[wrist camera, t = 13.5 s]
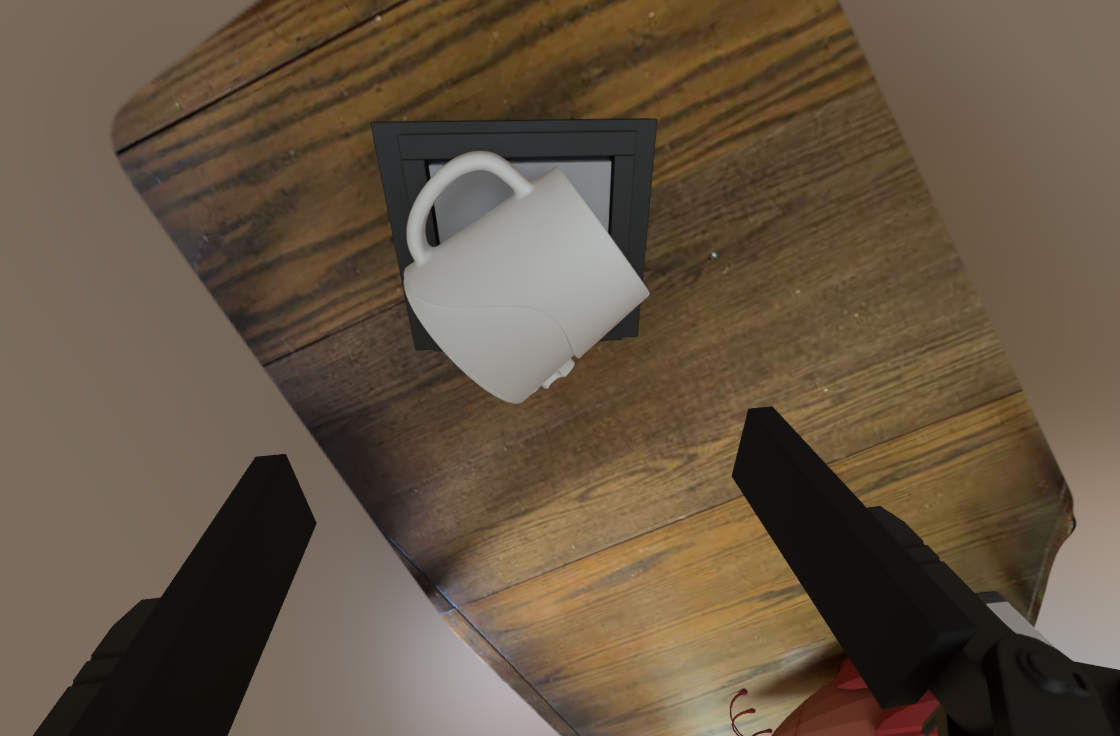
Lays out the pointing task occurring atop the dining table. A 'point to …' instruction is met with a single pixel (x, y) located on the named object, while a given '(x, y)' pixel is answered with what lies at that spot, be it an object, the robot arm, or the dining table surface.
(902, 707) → the decorative flower
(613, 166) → the black stepped plinth
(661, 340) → the dining table surface
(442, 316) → the mug
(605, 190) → the grey tile on plinth
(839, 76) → the dining table surface
